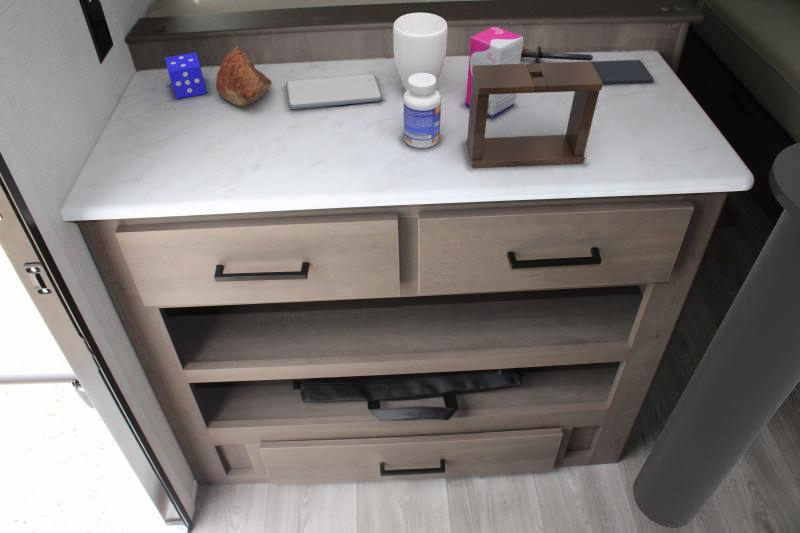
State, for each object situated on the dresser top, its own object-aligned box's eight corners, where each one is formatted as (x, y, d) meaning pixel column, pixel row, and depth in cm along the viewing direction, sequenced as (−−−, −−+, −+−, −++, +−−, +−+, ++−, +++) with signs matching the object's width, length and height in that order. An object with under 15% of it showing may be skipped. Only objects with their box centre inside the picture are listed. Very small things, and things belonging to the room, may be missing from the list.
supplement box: (515, 105, 101) (525, 36, 93) (491, 119, 98) (499, 49, 90) (487, 92, 104) (494, 24, 96) (463, 105, 101) (468, 36, 93)
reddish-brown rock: (219, 53, 106) (233, 14, 98) (267, 70, 110) (285, 34, 102) (206, 115, 101) (220, 79, 93) (257, 131, 105) (275, 97, 97)
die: (207, 94, 104) (200, 65, 100) (176, 99, 103) (168, 71, 99) (202, 79, 107) (196, 52, 104) (172, 85, 106) (164, 57, 103)
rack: (572, 139, 94) (590, 61, 85) (583, 163, 90) (603, 83, 81) (466, 144, 93) (472, 65, 85) (471, 168, 89) (479, 87, 80)
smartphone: (383, 97, 101) (288, 106, 99) (383, 102, 102) (289, 111, 100) (374, 72, 107) (285, 80, 105) (374, 77, 108) (286, 85, 105)
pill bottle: (441, 148, 93) (444, 88, 86) (404, 150, 92) (404, 90, 85) (437, 128, 96) (440, 69, 90) (402, 129, 96) (402, 70, 89)
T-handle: (596, 53, 111) (515, 49, 116) (598, 36, 109) (515, 33, 114) (587, 79, 104) (502, 74, 109) (589, 62, 102) (501, 58, 107)
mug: (447, 103, 102) (451, 34, 94) (396, 105, 101) (395, 36, 93) (438, 67, 110) (440, 1, 102) (390, 69, 110) (389, 3, 101)
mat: (639, 62, 111) (640, 59, 110) (653, 82, 106) (654, 79, 105) (549, 65, 110) (549, 62, 110) (558, 86, 105) (559, 82, 105)
